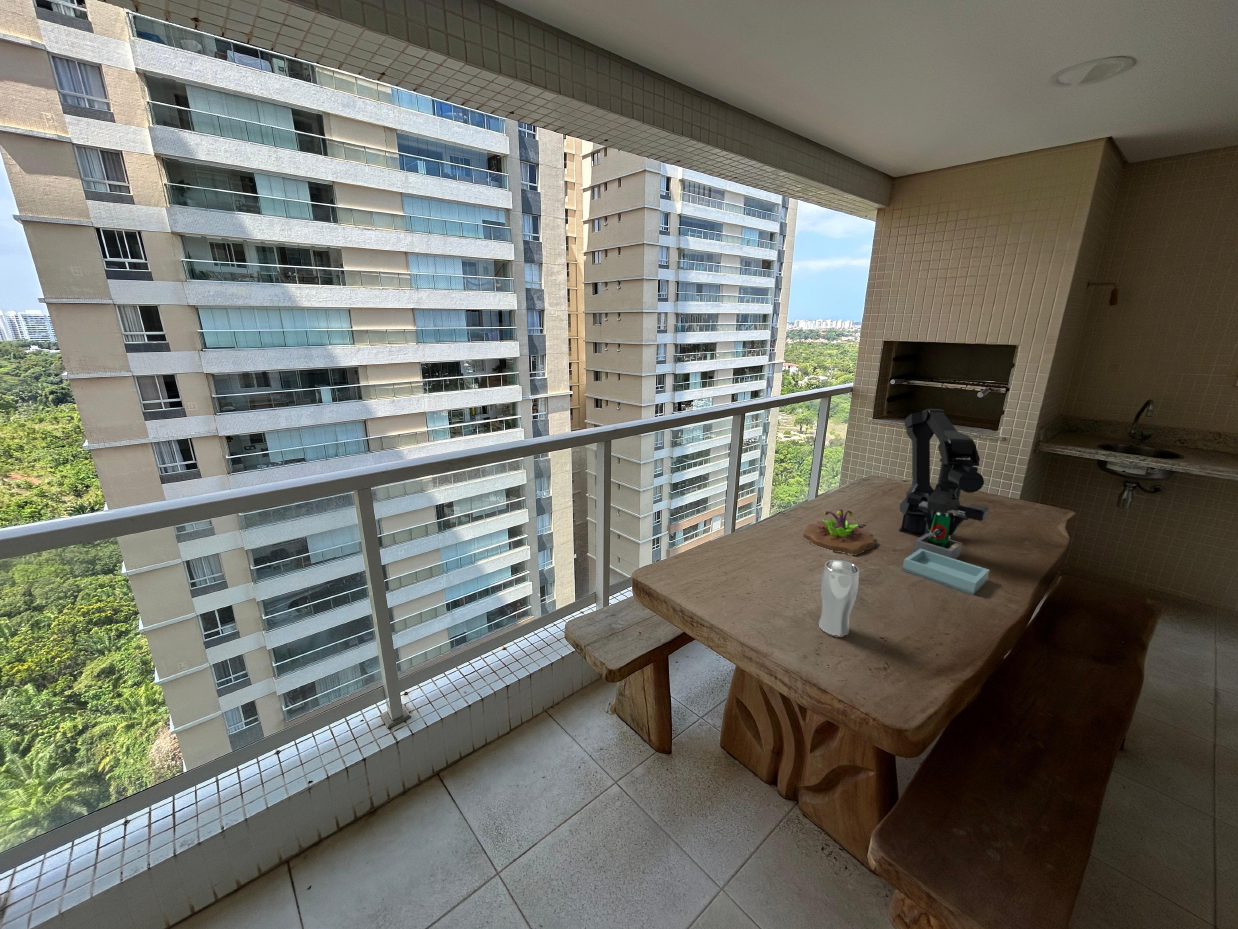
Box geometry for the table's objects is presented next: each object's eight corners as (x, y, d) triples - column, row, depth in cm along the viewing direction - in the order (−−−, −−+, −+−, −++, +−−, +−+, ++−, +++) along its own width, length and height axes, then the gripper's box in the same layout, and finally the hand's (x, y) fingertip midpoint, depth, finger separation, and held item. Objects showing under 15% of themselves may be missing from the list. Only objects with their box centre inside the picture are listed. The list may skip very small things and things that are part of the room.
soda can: (951, 553, 130) (959, 514, 127) (931, 551, 131) (939, 512, 128) (942, 545, 135) (950, 507, 132) (923, 544, 136) (931, 506, 132)
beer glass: (810, 620, 102) (817, 559, 98) (839, 619, 102) (848, 558, 98) (826, 640, 95) (835, 575, 91) (858, 638, 95) (867, 574, 92)
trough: (902, 570, 124) (904, 559, 123) (918, 559, 130) (920, 548, 129) (972, 595, 112) (975, 583, 111) (986, 581, 118) (989, 569, 117)
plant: (793, 541, 143) (796, 508, 140) (817, 524, 156) (821, 493, 154) (861, 562, 130) (866, 525, 127) (881, 541, 143) (886, 507, 140)
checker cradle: (913, 553, 134) (915, 539, 133) (925, 545, 139) (927, 531, 138) (948, 564, 127) (951, 550, 126) (959, 555, 132) (962, 541, 131)
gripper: (902, 479, 130) (893, 529, 134) (981, 495, 115) (969, 551, 120) (918, 472, 136) (909, 520, 140) (995, 487, 122) (983, 540, 126)
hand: (940, 532), depth 131 cm, fingers closed on soda can, 5 cm apart
